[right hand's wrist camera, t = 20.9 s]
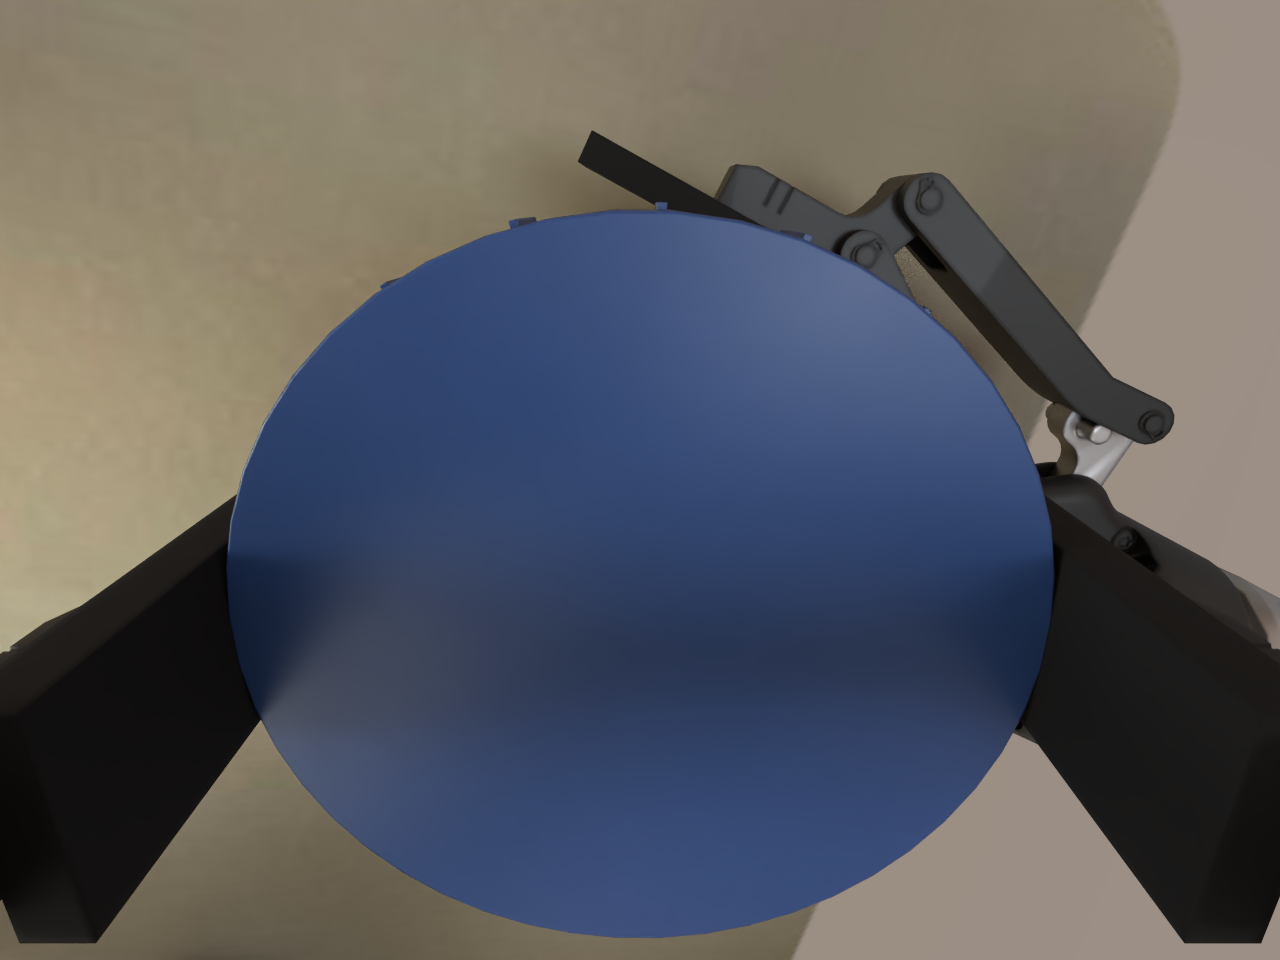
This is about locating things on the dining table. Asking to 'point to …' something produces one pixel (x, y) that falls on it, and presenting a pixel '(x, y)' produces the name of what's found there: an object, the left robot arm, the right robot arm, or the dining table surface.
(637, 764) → the lid
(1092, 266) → the dining table surface
